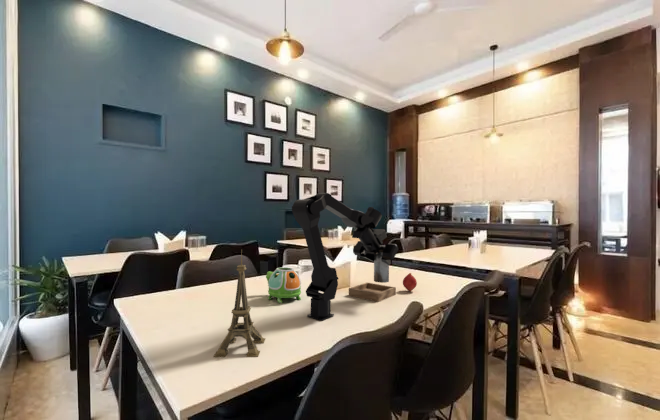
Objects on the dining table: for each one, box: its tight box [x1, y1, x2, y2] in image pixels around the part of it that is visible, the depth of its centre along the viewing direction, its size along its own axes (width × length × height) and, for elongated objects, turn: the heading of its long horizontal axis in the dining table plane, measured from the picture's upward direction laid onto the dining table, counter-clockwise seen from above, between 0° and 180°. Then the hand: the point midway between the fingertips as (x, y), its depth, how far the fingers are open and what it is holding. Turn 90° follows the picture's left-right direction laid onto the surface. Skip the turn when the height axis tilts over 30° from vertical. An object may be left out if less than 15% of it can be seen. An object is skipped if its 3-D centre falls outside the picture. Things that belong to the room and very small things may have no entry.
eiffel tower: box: [212, 249, 266, 358], centre depth 82 cm, size 11×11×25 cm
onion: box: [402, 272, 418, 292], centre depth 140 cm, size 6×6×8 cm
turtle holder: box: [265, 266, 302, 304], centre depth 129 cm, size 12×18×12 cm
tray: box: [348, 282, 397, 303], centre depth 133 cm, size 14×14×3 cm
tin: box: [373, 244, 390, 284], centre depth 131 cm, size 6×6×14 cm
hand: (383, 263), depth 132 cm, fingers closed on tin, 6 cm apart
